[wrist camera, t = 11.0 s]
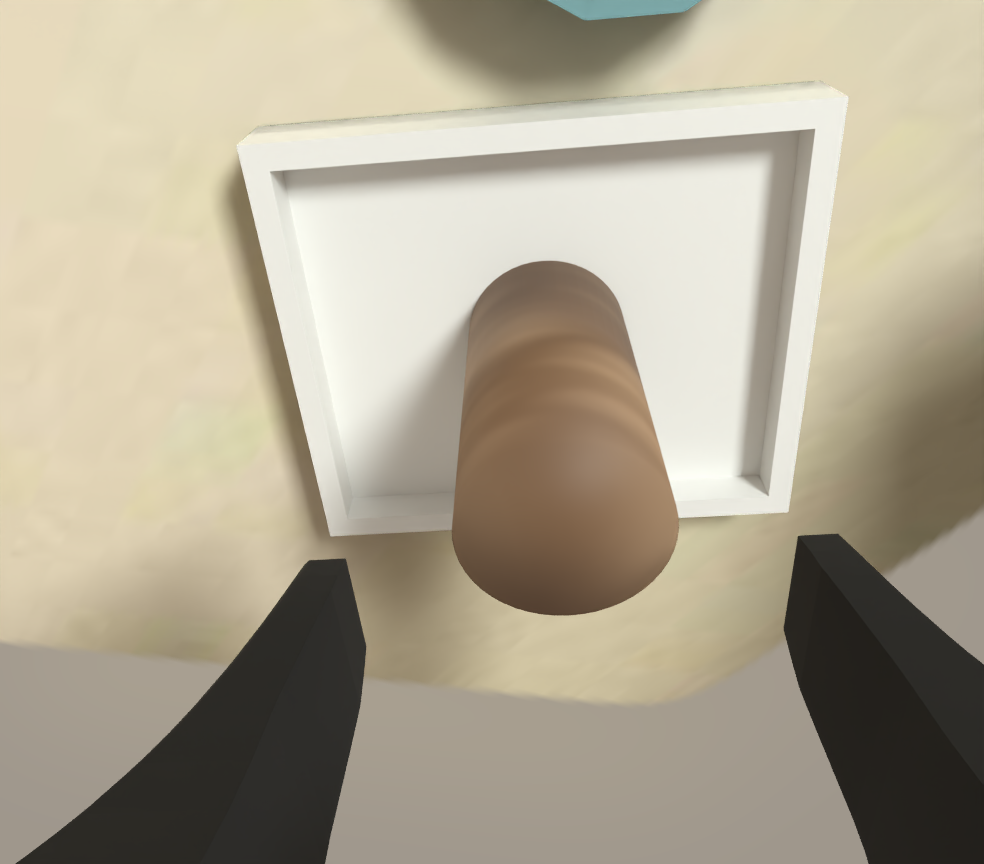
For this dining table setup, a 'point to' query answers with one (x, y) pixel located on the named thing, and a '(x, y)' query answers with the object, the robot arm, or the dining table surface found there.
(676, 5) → the teal ring
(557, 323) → the dowel
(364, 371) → the tray
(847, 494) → the dining table surface
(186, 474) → the dining table surface
